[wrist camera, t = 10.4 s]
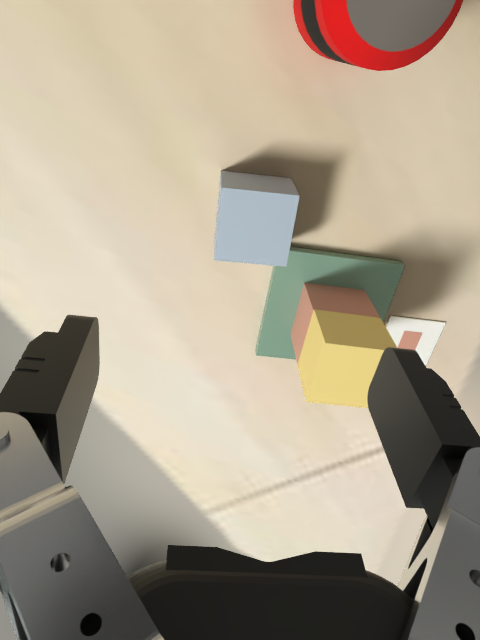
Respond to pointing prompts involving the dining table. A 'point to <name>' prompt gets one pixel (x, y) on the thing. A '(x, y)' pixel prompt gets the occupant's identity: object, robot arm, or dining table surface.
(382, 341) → the mustard brick
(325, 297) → the base brick
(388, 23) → the soda can
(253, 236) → the slate brick
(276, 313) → the build plate
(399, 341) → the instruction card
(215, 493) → the dining table surface
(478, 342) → the dining table surface
